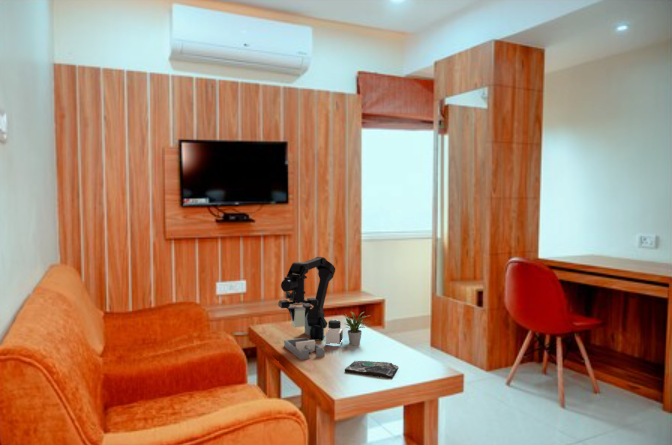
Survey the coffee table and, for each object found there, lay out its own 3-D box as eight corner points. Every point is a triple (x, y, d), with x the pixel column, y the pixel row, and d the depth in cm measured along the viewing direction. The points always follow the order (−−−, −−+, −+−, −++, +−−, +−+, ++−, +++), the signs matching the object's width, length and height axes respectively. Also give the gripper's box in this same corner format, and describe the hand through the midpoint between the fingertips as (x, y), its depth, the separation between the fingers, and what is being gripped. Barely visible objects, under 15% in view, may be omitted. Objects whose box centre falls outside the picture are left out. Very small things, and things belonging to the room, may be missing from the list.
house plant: (371, 339, 247) (372, 308, 246) (370, 348, 234) (371, 315, 233) (344, 338, 249) (344, 307, 248) (341, 346, 235) (342, 313, 234)
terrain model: (399, 367, 209) (399, 360, 209) (391, 380, 195) (391, 372, 195) (355, 361, 216) (355, 354, 216) (344, 373, 202) (344, 366, 201)
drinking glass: (301, 331, 260) (301, 309, 259) (318, 329, 264) (318, 308, 264) (308, 336, 251) (308, 314, 250) (325, 334, 255) (325, 312, 255)
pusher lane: (284, 346, 235) (284, 338, 235) (307, 343, 240) (307, 335, 240) (300, 359, 216) (300, 351, 216) (324, 356, 221) (324, 347, 221)
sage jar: (301, 323, 237) (301, 305, 236) (305, 326, 232) (305, 308, 232) (291, 324, 235) (291, 306, 234) (294, 327, 230) (294, 308, 229)
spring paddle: (295, 352, 225) (295, 342, 225) (313, 350, 229) (313, 339, 229) (301, 357, 218) (301, 346, 218) (320, 354, 222) (320, 344, 222)
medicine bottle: (339, 347, 235) (340, 322, 234) (325, 346, 236) (325, 322, 235) (342, 342, 242) (342, 319, 241) (328, 341, 243) (329, 318, 242)
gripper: (310, 284, 244) (310, 315, 244) (275, 286, 236) (274, 318, 237) (318, 288, 233) (318, 320, 234) (282, 291, 226) (281, 323, 227)
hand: (298, 320), depth 233 cm, fingers closed on sage jar, 5 cm apart
